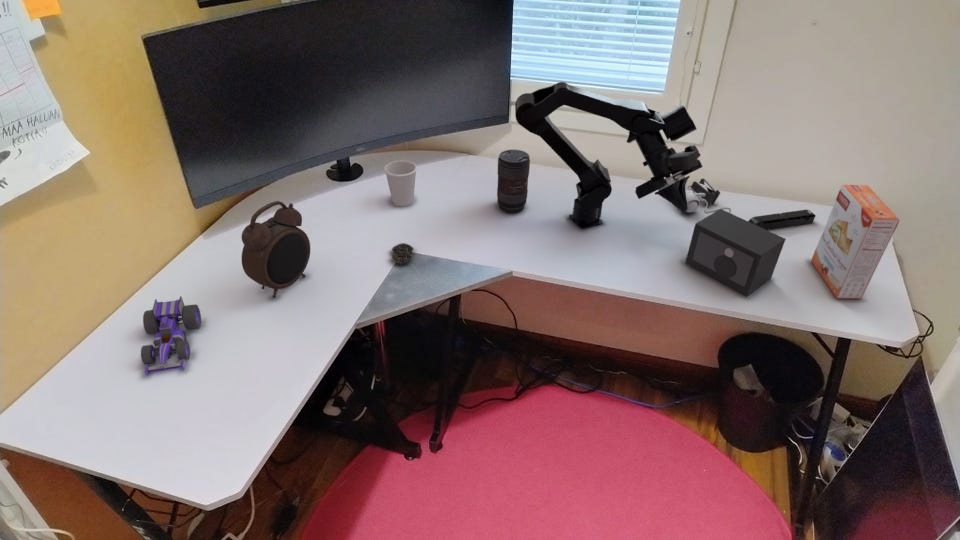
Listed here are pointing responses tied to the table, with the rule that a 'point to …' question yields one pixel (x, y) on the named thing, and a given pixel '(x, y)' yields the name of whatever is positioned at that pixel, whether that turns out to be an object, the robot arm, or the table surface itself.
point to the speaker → (734, 251)
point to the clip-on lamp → (701, 191)
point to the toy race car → (168, 333)
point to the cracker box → (853, 241)
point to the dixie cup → (401, 181)
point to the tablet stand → (783, 219)
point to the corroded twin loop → (402, 253)
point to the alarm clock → (275, 248)
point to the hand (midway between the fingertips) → (685, 210)
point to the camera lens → (512, 180)
